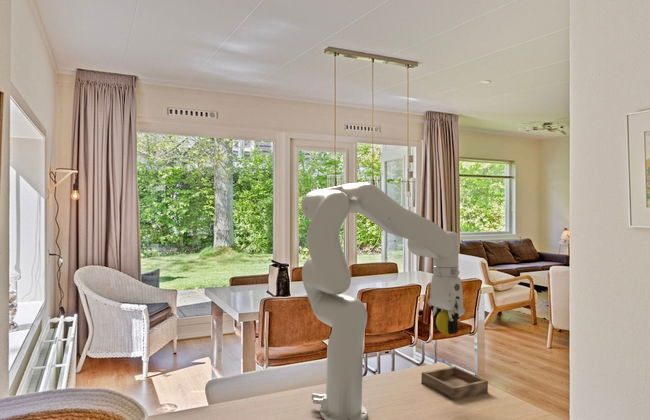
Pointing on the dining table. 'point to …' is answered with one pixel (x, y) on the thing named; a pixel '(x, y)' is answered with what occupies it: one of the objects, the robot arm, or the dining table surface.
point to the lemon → (442, 321)
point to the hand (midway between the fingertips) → (445, 330)
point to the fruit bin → (454, 383)
